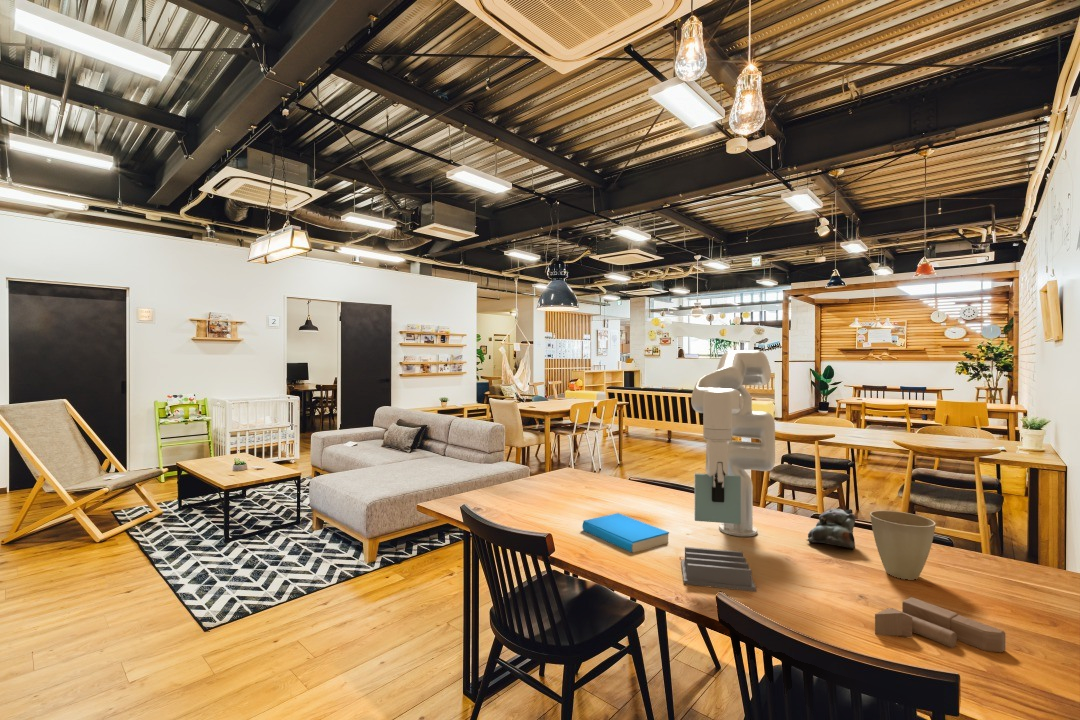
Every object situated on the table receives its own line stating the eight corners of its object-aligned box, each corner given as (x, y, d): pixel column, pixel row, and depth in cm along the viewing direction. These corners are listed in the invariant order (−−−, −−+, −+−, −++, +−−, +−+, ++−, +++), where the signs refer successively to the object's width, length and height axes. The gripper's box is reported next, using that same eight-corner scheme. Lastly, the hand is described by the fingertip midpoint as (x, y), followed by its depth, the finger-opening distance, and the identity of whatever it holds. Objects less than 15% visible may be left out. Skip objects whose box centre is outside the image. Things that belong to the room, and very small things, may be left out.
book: (617, 512, 185) (669, 530, 164) (617, 524, 185) (669, 543, 164) (581, 520, 175) (632, 540, 155) (581, 533, 175) (632, 554, 155)
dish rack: (681, 562, 147) (681, 545, 147) (745, 568, 143) (745, 550, 143) (684, 584, 133) (684, 565, 133) (756, 591, 129) (756, 572, 129)
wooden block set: (906, 590, 118) (1006, 625, 103) (906, 614, 118) (1006, 652, 103) (869, 607, 110) (972, 648, 94) (869, 633, 109) (972, 678, 94)
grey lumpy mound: (797, 539, 166) (804, 499, 171) (828, 553, 167) (834, 512, 172) (832, 542, 152) (838, 498, 157) (865, 556, 154) (870, 512, 158)
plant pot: (945, 590, 130) (945, 529, 130) (878, 581, 135) (878, 522, 135) (923, 568, 144) (923, 513, 144) (864, 561, 149) (863, 507, 149)
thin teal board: (694, 519, 140) (694, 473, 140) (739, 522, 138) (739, 475, 138) (695, 520, 139) (695, 474, 139) (740, 524, 136) (740, 476, 136)
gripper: (700, 430, 147) (700, 492, 147) (706, 438, 131) (706, 507, 131) (727, 431, 145) (727, 494, 145) (736, 439, 130) (736, 509, 130)
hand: (717, 500), depth 138 cm, fingers closed on thin teal board, 1 cm apart
